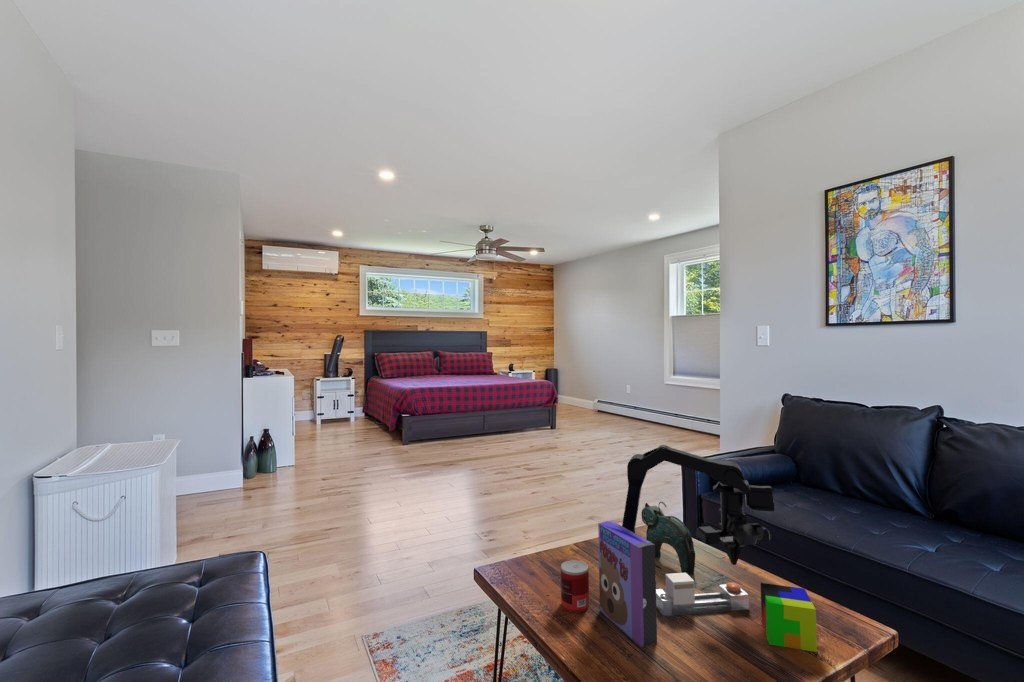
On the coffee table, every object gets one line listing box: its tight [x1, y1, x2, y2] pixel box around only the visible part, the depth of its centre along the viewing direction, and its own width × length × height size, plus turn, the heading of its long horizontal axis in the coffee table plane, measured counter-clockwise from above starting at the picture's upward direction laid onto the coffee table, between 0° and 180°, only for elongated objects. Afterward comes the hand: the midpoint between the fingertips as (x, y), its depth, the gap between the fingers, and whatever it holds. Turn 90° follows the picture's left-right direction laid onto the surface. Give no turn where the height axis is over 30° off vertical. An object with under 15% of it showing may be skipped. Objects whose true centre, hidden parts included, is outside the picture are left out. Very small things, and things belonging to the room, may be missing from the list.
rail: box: [656, 583, 750, 617], centre depth 129 cm, size 24×6×4 cm, turn 96°
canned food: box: [560, 559, 590, 614], centre depth 130 cm, size 8×8×11 cm
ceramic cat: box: [641, 501, 696, 576], centre depth 155 cm, size 20×6×20 cm, turn 28°
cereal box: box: [597, 520, 658, 648], centre depth 120 cm, size 17×5×24 cm, turn 23°
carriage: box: [665, 572, 696, 605], centre depth 128 cm, size 6×5×6 cm
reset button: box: [725, 581, 742, 593], centre depth 130 cm, size 4×4×5 cm
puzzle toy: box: [760, 582, 818, 653], centre depth 115 cm, size 10×10×10 cm
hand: (733, 564), depth 130 cm, fingers closed
